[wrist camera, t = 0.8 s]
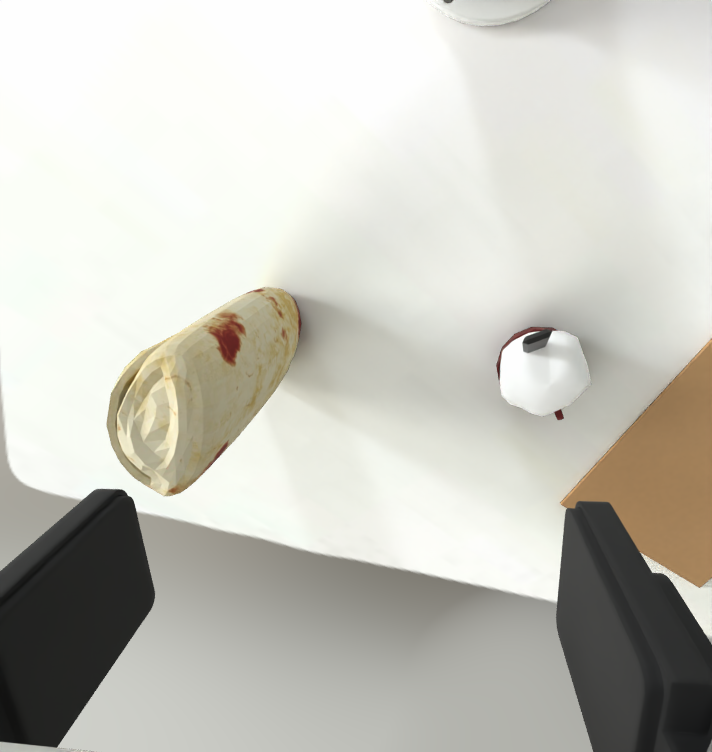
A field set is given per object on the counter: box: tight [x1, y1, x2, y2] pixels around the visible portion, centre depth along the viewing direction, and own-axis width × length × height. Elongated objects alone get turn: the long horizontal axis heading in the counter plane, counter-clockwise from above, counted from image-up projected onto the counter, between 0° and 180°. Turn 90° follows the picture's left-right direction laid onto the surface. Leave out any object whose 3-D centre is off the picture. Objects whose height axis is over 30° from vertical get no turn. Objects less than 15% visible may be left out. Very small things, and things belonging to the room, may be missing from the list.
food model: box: [107, 287, 301, 496], centre depth 33 cm, size 10×7×20 cm
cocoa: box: [496, 327, 592, 420], centre depth 35 cm, size 10×6×12 cm, turn 3°
